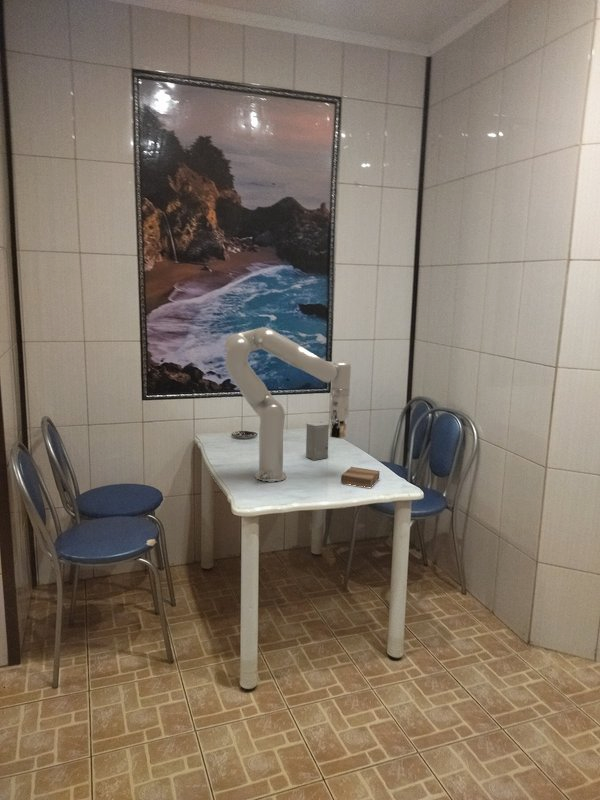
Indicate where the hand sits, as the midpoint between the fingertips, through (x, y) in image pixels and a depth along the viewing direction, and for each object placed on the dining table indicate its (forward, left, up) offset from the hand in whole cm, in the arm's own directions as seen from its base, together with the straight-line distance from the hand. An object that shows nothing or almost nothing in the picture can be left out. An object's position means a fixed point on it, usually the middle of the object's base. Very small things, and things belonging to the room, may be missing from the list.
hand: (337, 435), depth 243 cm
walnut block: (-6, -12, -17) cm, 22 cm away
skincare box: (+16, +16, -16) cm, 28 cm away
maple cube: (0, 0, -1) cm, 1 cm away
